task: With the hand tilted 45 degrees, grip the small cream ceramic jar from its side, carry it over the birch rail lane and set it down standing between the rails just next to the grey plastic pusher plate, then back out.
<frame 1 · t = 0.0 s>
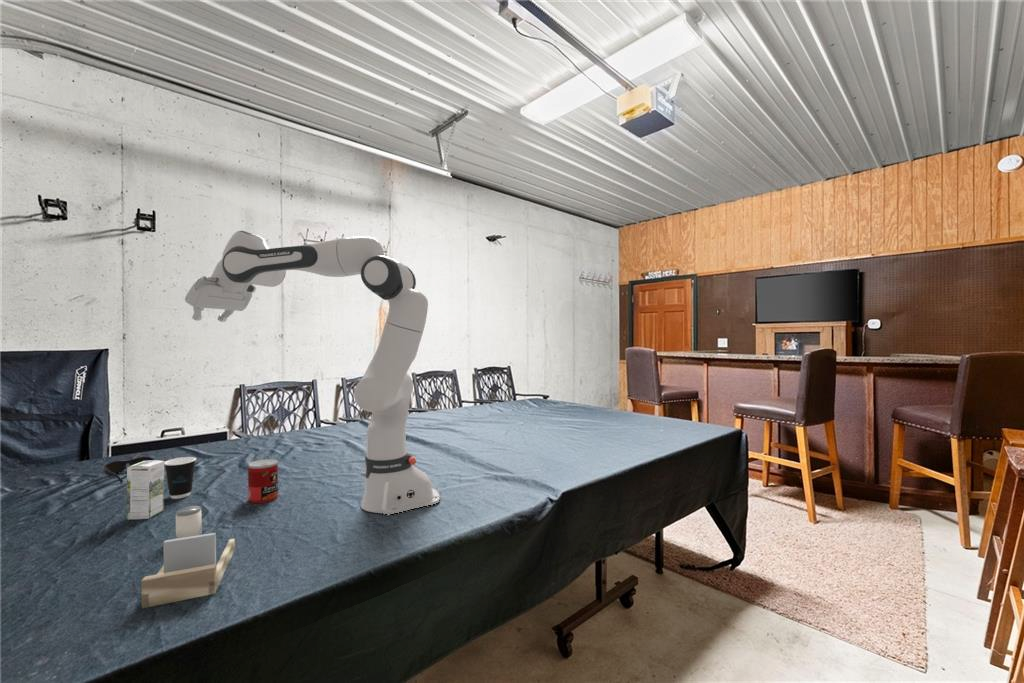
hand: (209, 320, 129), 54 cm above the table, tool tilted 30°, fingers open, 8 cm apart
pusher: (190, 557, 85), point 5 cm above the table, slide at 0.0 cm
syrup box: (146, 516, 117), on the table
dixie cup: (180, 496, 131), on the table
canned food: (263, 499, 129), on the table
jar: (188, 538, 103), on the table
sunglasses: (133, 476, 151), on the table
lane: (195, 572, 88), on the table
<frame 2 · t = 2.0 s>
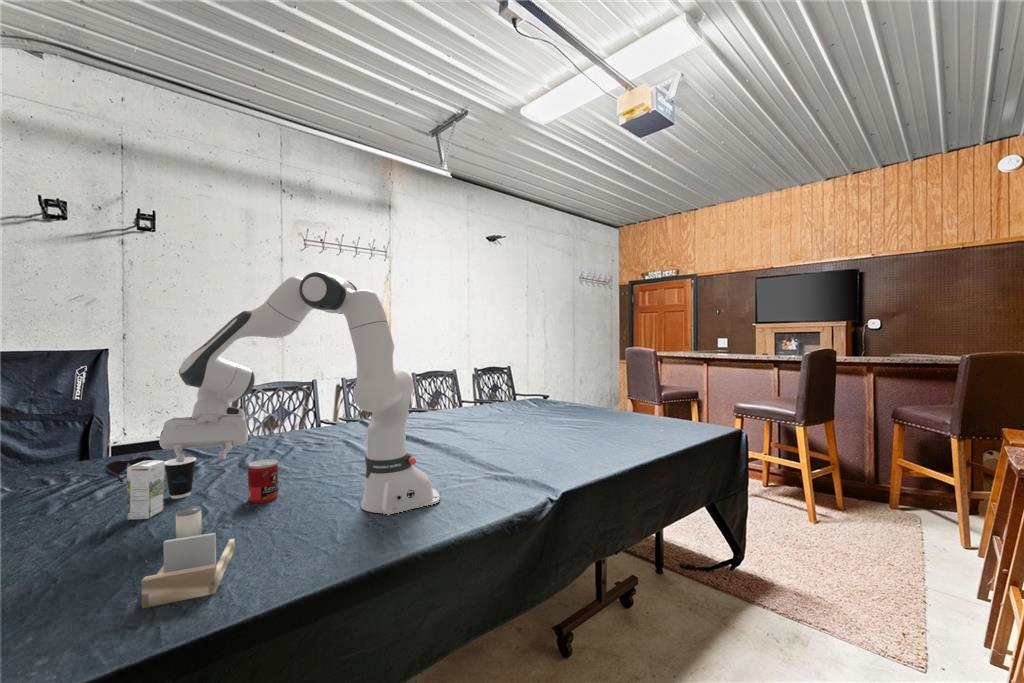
hand: (201, 459, 115), 16 cm above the table, tool tilted 45°, fingers open, 8 cm apart
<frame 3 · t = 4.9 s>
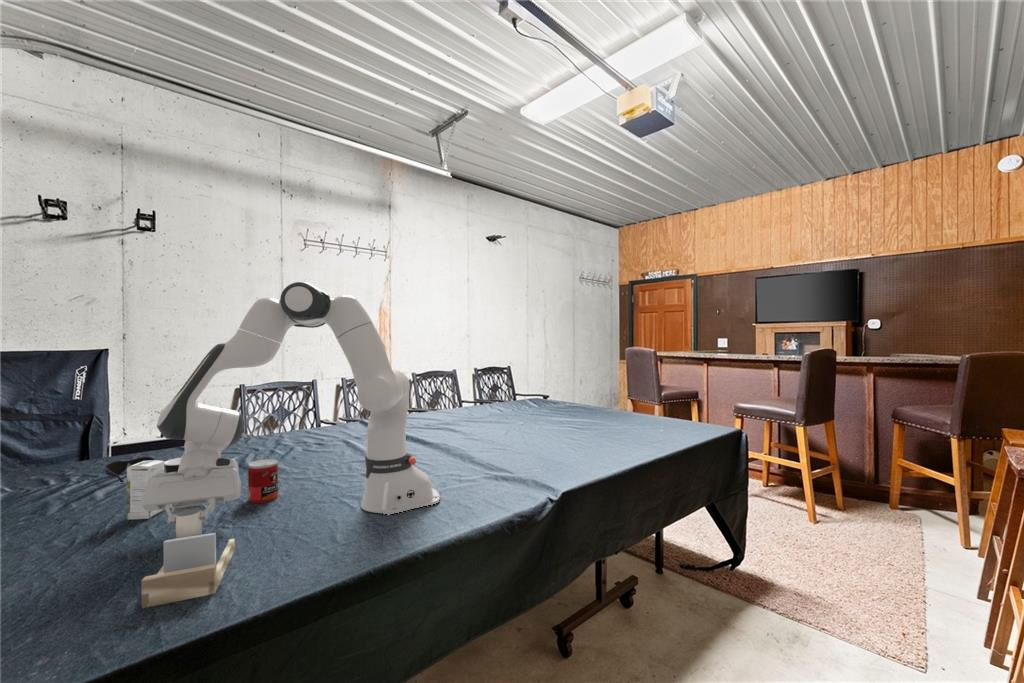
hand: (187, 521, 103), 4 cm above the table, tool tilted 45°, fingers closed on jar, 5 cm apart
jar: (188, 538, 103), on the table, touching gripper
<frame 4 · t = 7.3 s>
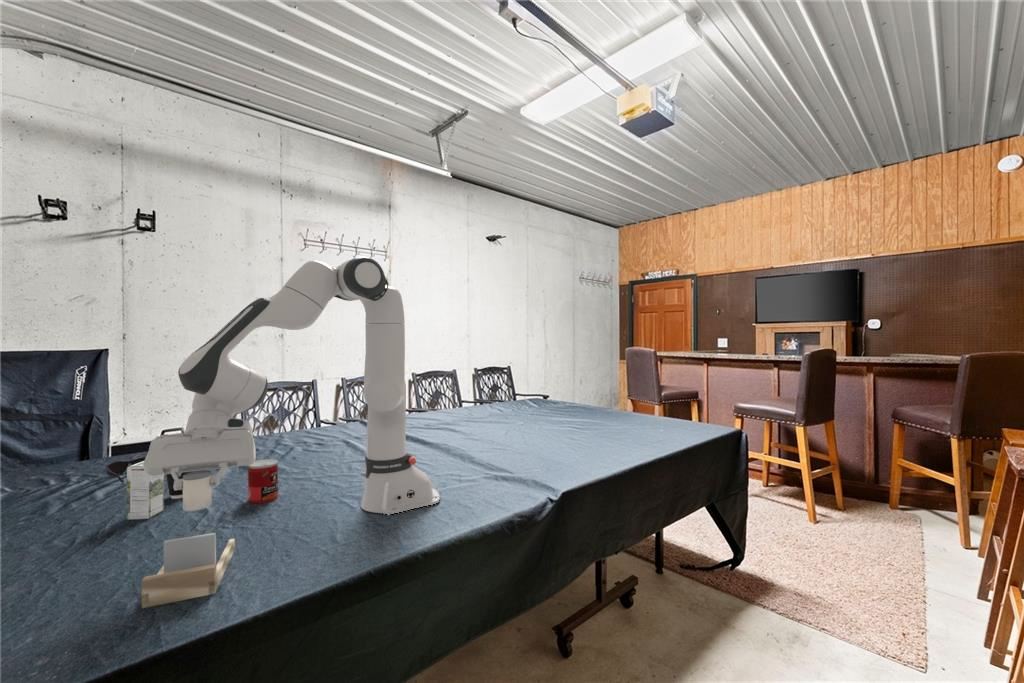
hand: (196, 486, 90), 17 cm above the table, tool tilted 45°, fingers closed on jar, 5 cm apart
jar: (197, 506, 91), point 13 cm above the table, touching gripper
when the fingers open (6 cm above the table, at t = 10.0 s): jar drops 2 cm, resting in lane.
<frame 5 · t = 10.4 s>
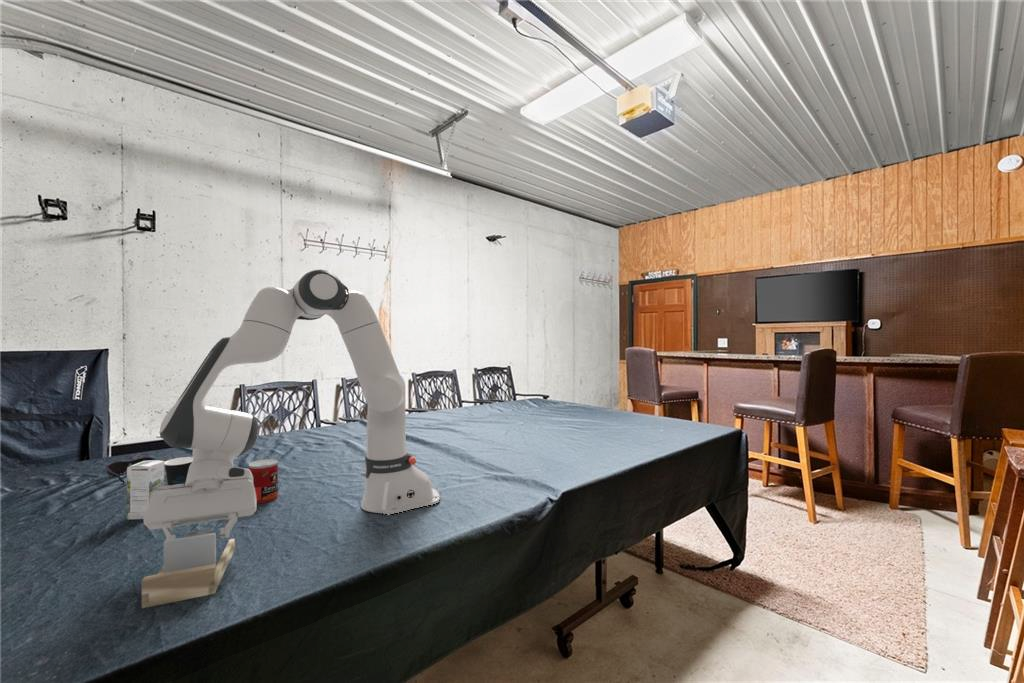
hand: (197, 541, 89), 6 cm above the table, tool tilted 45°, fingers open, 8 cm apart
jar: (198, 567, 90), resting in lane
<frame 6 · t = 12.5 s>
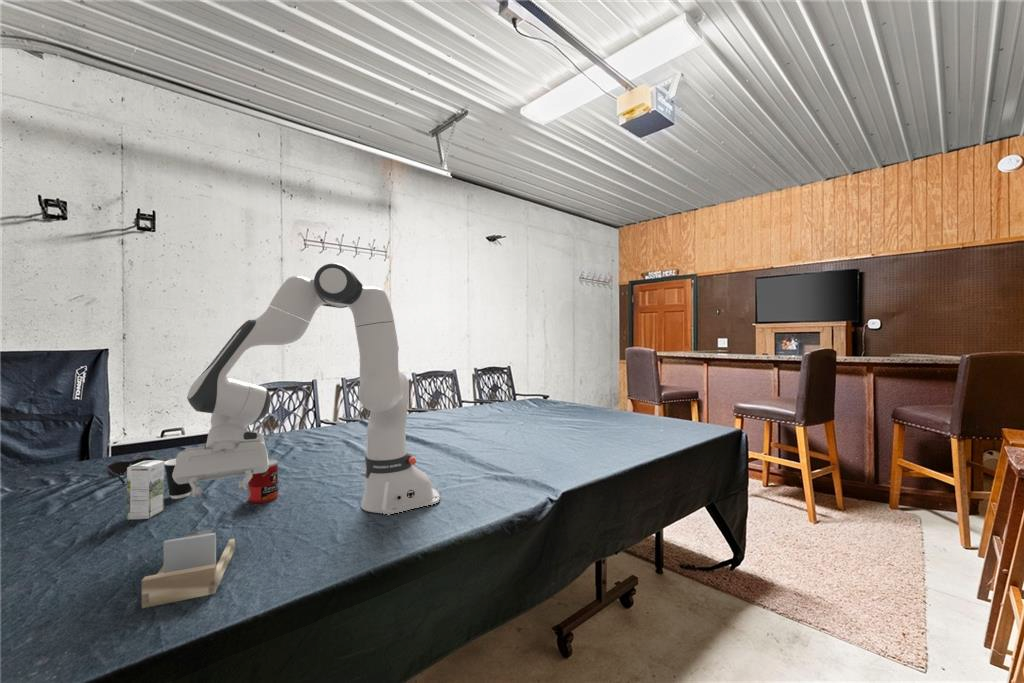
hand: (219, 492, 103), 11 cm above the table, tool tilted 45°, fingers open, 8 cm apart
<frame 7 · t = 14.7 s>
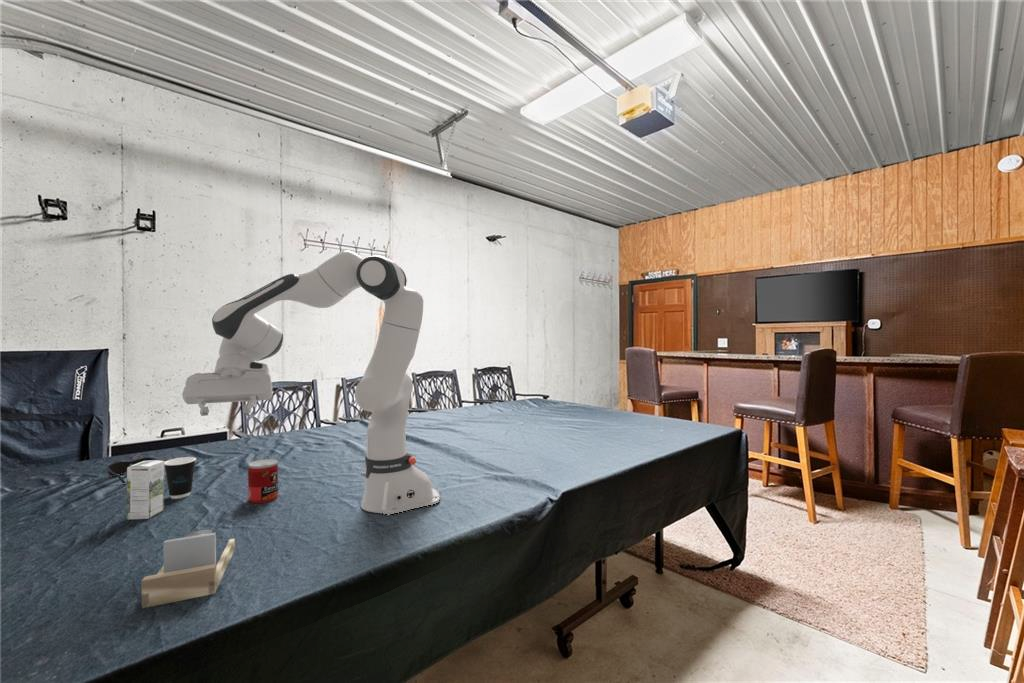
hand: (225, 413, 110), 29 cm above the table, tool tilted 45°, fingers open, 8 cm apart
at the end: jar inside the target area (0.1 cm from its centre), resting in lane; jar tilted 0° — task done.
